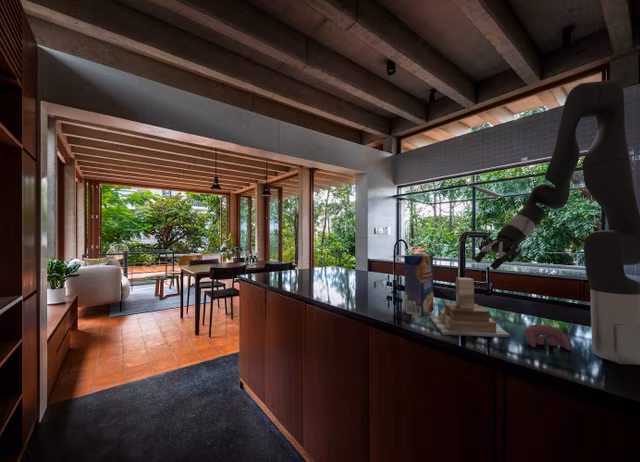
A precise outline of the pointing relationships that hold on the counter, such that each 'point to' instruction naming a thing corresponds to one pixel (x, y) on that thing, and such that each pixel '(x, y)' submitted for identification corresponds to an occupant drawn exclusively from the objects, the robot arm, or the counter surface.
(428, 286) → the juice carton
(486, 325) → the platform
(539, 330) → the video game controller
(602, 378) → the counter surface
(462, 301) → the birch block
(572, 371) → the counter surface
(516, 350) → the counter surface
